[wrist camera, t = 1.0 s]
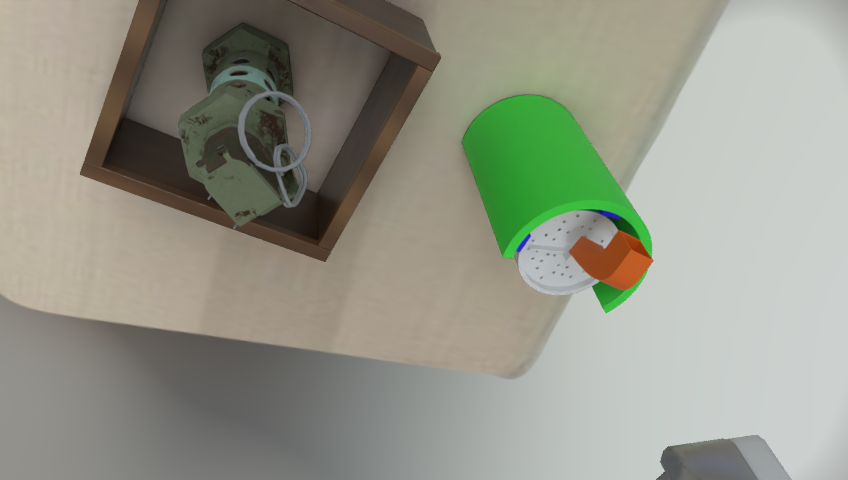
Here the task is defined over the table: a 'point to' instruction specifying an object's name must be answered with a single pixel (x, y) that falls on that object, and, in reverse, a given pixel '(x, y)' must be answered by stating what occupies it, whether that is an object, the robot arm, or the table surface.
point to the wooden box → (316, 213)
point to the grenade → (245, 126)
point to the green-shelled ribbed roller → (556, 202)
